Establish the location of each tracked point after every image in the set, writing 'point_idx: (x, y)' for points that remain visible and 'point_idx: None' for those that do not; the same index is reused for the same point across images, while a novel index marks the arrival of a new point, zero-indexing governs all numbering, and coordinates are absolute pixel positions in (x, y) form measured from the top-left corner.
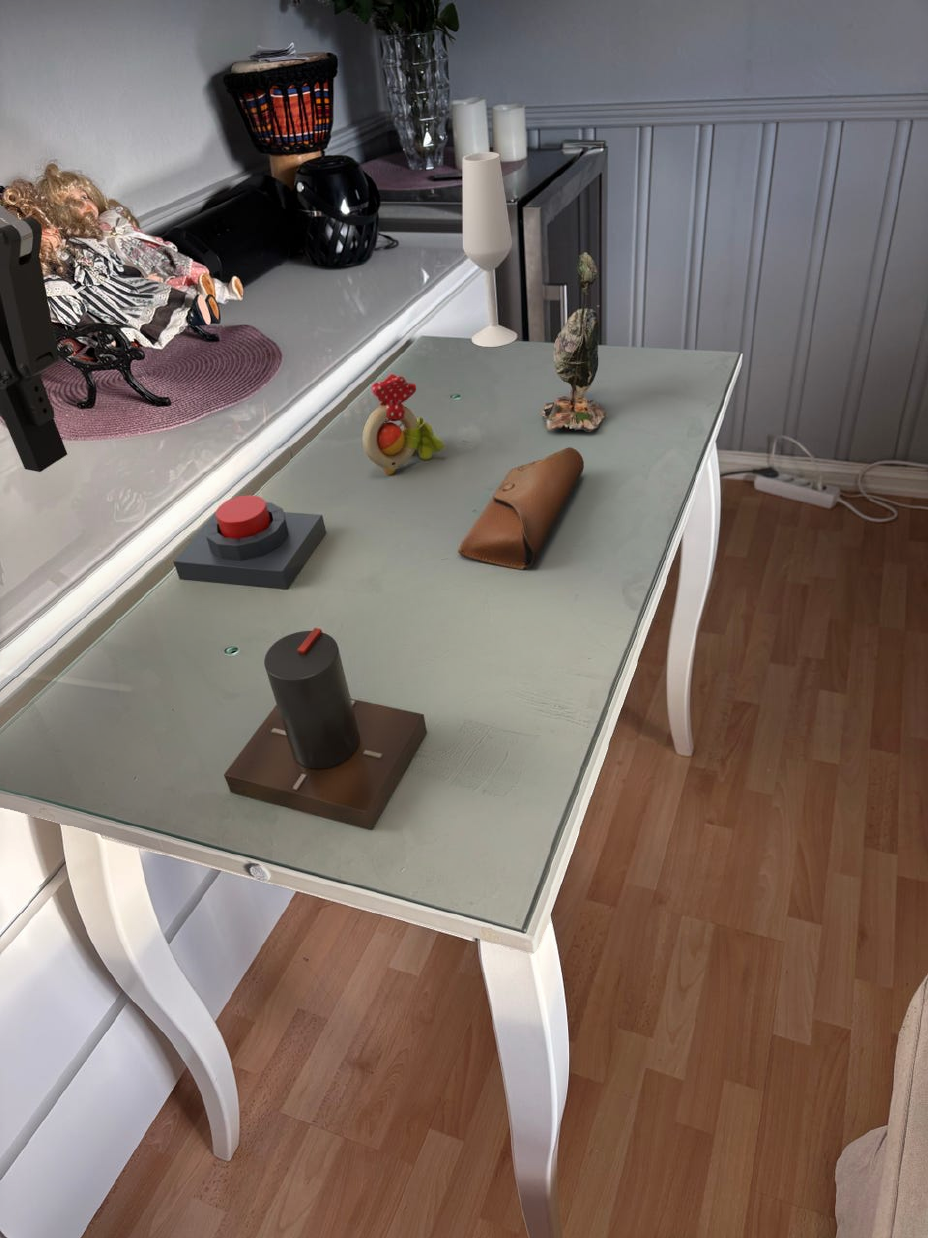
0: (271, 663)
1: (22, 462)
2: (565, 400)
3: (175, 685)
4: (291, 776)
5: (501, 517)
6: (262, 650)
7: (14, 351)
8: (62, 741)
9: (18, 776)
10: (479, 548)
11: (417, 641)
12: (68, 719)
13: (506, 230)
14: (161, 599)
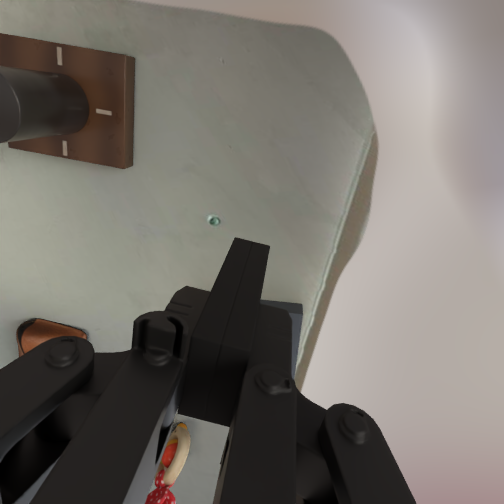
0: (3, 85)
1: (267, 250)
2: None
3: (242, 175)
4: (70, 62)
5: None
6: (188, 222)
7: (36, 403)
8: (312, 95)
9: (333, 45)
10: (66, 335)
11: (75, 240)
12: (320, 123)
13: None
14: (306, 278)
